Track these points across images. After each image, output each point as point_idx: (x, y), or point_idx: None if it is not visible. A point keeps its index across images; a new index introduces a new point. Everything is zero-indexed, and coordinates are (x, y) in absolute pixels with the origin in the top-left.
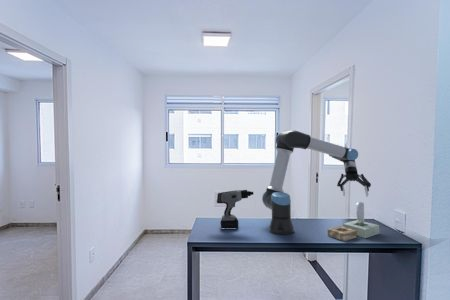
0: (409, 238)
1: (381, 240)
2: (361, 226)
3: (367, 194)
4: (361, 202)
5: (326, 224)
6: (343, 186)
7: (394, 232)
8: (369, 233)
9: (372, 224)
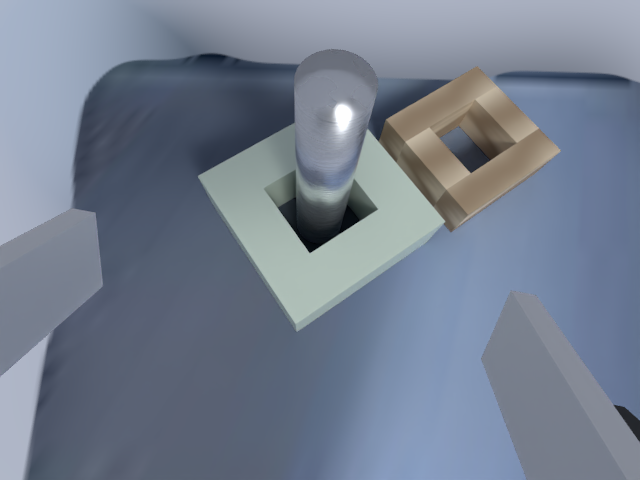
0: (88, 123)
1: (263, 101)
2: None
3: (87, 225)
4: (308, 102)
5: None
6: (631, 465)
7: None
8: None
9: (233, 195)
